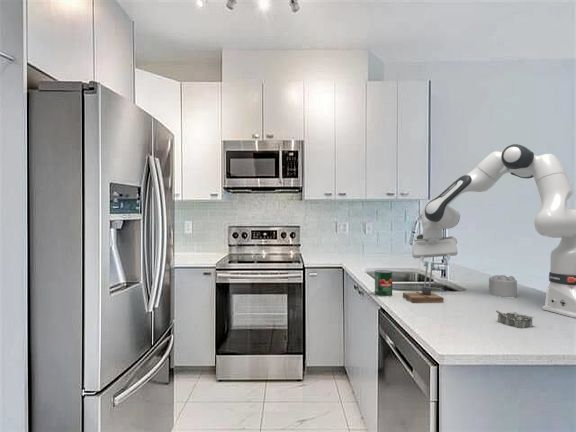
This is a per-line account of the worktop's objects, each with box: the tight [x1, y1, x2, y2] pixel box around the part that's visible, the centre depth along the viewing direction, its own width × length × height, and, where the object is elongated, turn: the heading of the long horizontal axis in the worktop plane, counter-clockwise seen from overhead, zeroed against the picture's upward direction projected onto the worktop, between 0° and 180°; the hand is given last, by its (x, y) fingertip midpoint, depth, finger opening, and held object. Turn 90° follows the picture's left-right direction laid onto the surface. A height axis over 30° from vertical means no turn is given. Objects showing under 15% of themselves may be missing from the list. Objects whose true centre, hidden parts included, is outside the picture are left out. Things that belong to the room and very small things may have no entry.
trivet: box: [402, 291, 444, 304], centre depth 191 cm, size 13×13×2 cm
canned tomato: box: [374, 269, 393, 297], centre depth 202 cm, size 8×8×11 cm
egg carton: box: [495, 310, 535, 329], centre depth 151 cm, size 11×8×4 cm
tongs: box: [421, 261, 435, 296], centre depth 192 cm, size 3×4×14 cm
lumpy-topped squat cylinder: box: [488, 274, 518, 298], centre depth 203 cm, size 10×13×9 cm
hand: (435, 265), depth 205 cm, fingers open, 8 cm apart
